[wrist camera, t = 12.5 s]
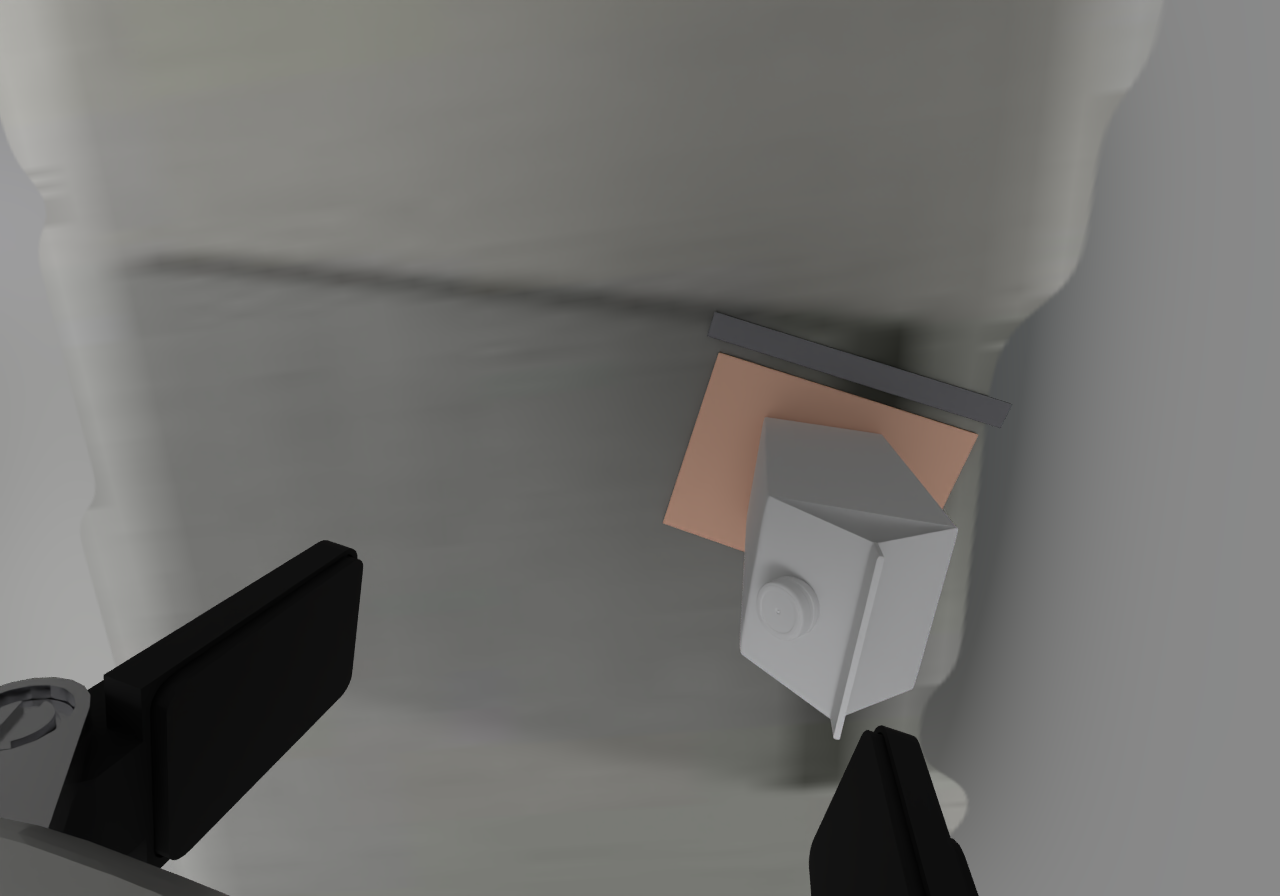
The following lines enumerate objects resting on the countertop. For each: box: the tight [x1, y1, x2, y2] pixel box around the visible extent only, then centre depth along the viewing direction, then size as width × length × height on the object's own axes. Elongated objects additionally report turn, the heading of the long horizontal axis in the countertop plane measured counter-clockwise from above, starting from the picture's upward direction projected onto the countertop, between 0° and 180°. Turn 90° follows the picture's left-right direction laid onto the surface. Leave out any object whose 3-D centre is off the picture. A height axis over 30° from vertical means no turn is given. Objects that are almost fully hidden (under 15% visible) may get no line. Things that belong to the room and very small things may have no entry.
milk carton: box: [740, 417, 958, 740], centre depth 29 cm, size 7×7×19 cm
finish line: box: [707, 312, 1012, 428], centre depth 36 cm, size 2×18×1 cm, turn 74°
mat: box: [663, 352, 978, 552], centre depth 38 cm, size 12×16×1 cm
